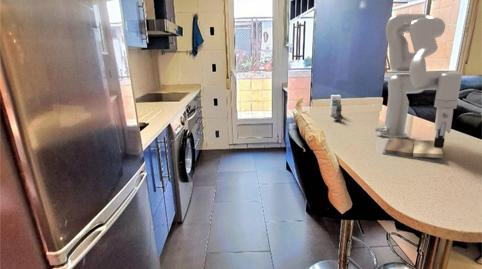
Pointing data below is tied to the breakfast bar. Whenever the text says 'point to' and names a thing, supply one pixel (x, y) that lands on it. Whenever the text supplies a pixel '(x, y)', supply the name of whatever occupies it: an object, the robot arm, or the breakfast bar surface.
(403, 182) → the breakfast bar surface
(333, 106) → the syrup box
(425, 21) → the robot arm
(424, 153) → the ash plank
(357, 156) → the breakfast bar surface
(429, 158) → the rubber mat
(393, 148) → the walnut board
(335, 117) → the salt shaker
